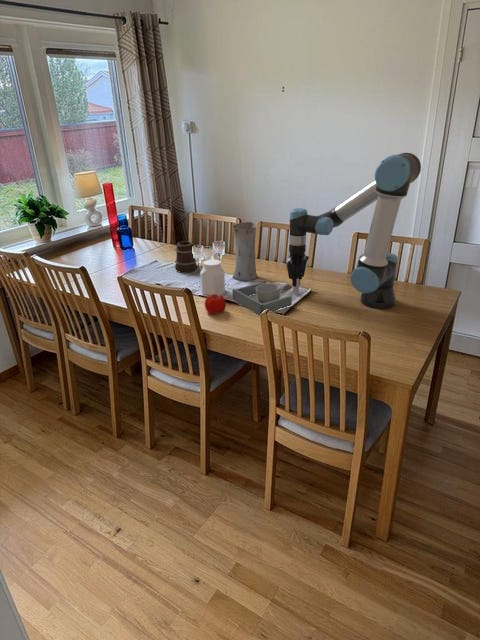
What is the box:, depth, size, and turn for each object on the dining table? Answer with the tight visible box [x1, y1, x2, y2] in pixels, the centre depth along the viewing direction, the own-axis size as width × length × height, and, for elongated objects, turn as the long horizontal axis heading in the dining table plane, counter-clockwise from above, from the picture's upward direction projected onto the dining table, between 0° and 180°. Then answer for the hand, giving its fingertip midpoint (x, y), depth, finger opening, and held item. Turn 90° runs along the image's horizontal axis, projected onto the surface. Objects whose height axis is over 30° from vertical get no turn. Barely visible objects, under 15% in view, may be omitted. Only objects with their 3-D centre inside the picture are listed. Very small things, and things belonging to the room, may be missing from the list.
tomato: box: [204, 294, 227, 315], centre depth 192 cm, size 9×9×8 cm
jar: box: [199, 259, 226, 296], centre depth 211 cm, size 12×10×15 cm
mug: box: [174, 240, 198, 273], centre depth 243 cm, size 16×12×15 cm
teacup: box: [255, 281, 281, 304], centre depth 201 cm, size 14×11×8 cm
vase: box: [232, 221, 258, 282], centre depth 225 cm, size 13×14×28 cm
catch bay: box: [231, 281, 293, 316], centre depth 200 cm, size 22×17×5 cm
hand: (295, 291), depth 209 cm, fingers closed
